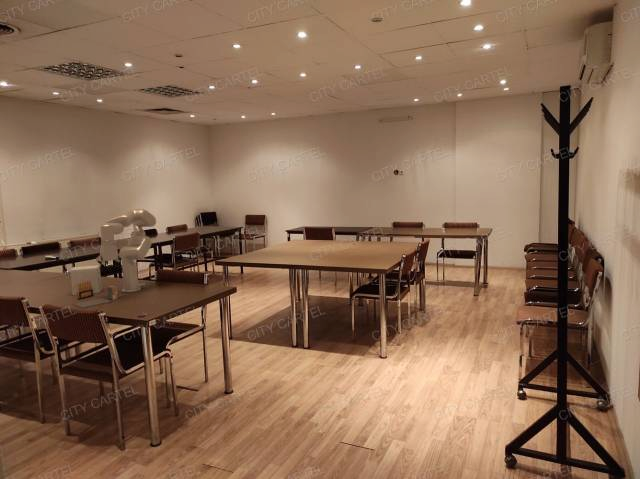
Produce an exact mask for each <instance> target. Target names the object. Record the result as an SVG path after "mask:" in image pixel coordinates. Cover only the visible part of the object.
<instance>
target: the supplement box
mask: <svg viewBox="0 0 640 479" xmlns="http://www.w3.org/2000/svg"><path fill="white" fill-rule="evenodd" d="M69 273H70V281H71V292H72V295H71V296H77V292H78V291H77V283H78V282H79V286H80V281H81V283H82V281H84V286H85V280H86V283H87V280H88V281H89V280H91V284H92V289H93V295H94V294H100V293H101V291H102V289H103V288H102V287H103V286H102V277H101V267H100V264H98V265H97V264H96V265H86V266H74V267H72V268H71V269H70V272H69Z"/></svg>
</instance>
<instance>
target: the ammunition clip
mask: <svg viewBox="0 0 640 479" xmlns="http://www.w3.org/2000/svg"><path fill="white" fill-rule="evenodd" d="M77 291H78V292H77V295H76V296H77V300H78V301H80V300H84V299H88V298H91V297H95V296H94V294H93V289H92V284H91V280H89V281H88V280H87V283H86V280H85V286H84V281H82V283H81V281H80V286H79V282H78V283H77Z"/></svg>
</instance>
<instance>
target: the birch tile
mask: <svg viewBox="0 0 640 479" xmlns="http://www.w3.org/2000/svg"><path fill="white" fill-rule="evenodd" d="M106 289H107V298H108V300H111V301H112V300H113V301H115V300H118V299H119V296H118V287H117V286H114V285H109V286H107V288H106Z"/></svg>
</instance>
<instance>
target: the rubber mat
mask: <svg viewBox="0 0 640 479" xmlns="http://www.w3.org/2000/svg"><path fill="white" fill-rule="evenodd" d="M110 303H113V301H112V300H111V299H106V298H102V297H101V298H97V299H95V298H94V299H92V300H87V301H82V302H78V303H73V306H75V307H77V308H81V309H86V308H92V307H96V306H99V305H104V304H110Z"/></svg>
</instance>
